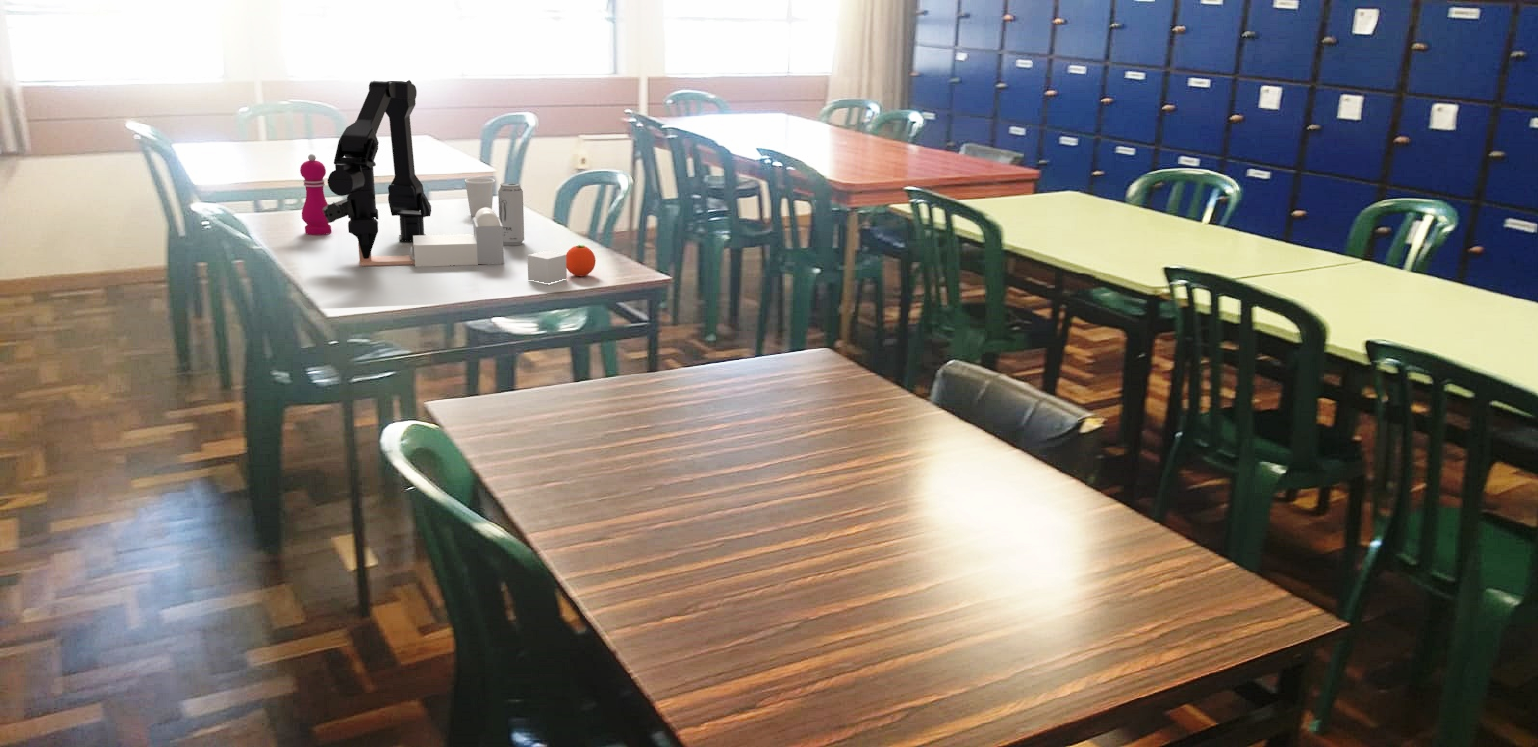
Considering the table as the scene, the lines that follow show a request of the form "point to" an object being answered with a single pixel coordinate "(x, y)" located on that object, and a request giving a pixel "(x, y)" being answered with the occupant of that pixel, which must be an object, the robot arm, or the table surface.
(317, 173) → the pepper mill
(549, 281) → the grey cube
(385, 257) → the l-shaped wooden bracket
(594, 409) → the table surface
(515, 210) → the energy drink can
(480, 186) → the dixie cup
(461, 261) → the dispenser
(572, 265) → the clementine
